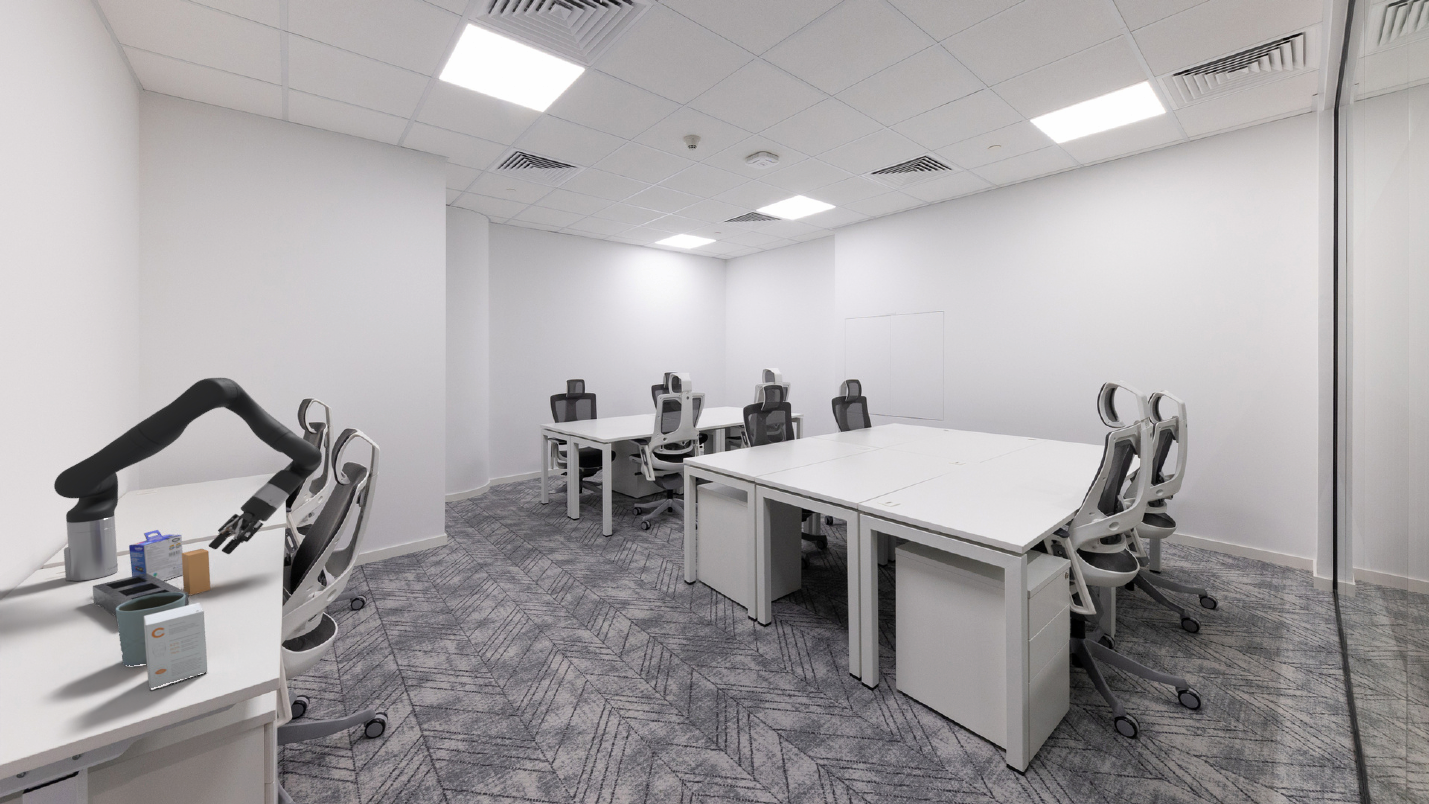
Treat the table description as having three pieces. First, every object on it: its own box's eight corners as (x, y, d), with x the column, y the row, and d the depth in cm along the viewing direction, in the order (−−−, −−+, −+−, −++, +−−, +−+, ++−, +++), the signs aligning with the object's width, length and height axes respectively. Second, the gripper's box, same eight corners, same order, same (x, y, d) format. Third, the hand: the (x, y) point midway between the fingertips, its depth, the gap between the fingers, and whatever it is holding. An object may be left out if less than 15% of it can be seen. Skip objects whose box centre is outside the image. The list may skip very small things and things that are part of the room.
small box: (203, 662, 110) (200, 601, 109) (208, 673, 106) (204, 610, 105) (146, 679, 104) (142, 615, 103) (148, 692, 100) (145, 625, 99)
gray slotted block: (93, 602, 138) (92, 585, 138) (147, 589, 147) (146, 573, 147) (132, 626, 125) (131, 608, 125) (189, 610, 134) (188, 592, 134)
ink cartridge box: (169, 573, 159) (166, 526, 158) (185, 574, 158) (183, 526, 157) (130, 586, 149) (127, 536, 148) (147, 587, 148) (144, 537, 147)
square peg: (190, 595, 143) (188, 555, 143) (183, 592, 145) (181, 553, 144) (210, 589, 147) (208, 551, 146) (204, 586, 149) (202, 548, 148)
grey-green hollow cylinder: (111, 661, 110) (108, 605, 110) (177, 639, 119) (174, 587, 119) (129, 674, 106) (125, 615, 105) (196, 650, 115) (193, 596, 114)
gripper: (243, 492, 160) (194, 540, 151) (266, 497, 153) (216, 547, 144) (265, 506, 165) (219, 552, 156) (288, 511, 158) (242, 560, 149)
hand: (218, 550), depth 150 cm, fingers open, 8 cm apart
